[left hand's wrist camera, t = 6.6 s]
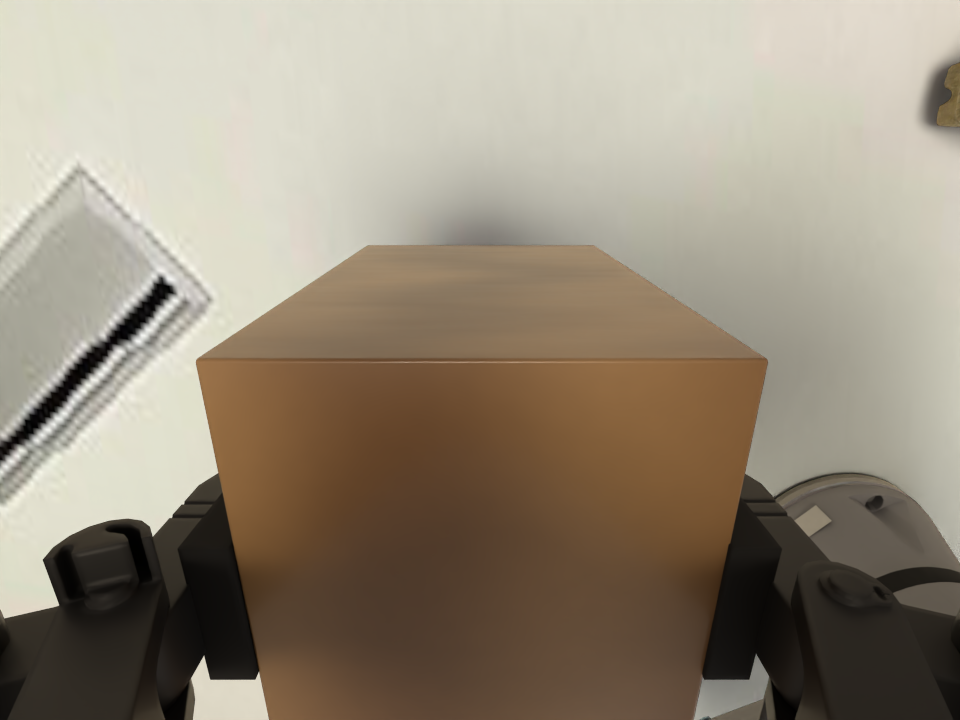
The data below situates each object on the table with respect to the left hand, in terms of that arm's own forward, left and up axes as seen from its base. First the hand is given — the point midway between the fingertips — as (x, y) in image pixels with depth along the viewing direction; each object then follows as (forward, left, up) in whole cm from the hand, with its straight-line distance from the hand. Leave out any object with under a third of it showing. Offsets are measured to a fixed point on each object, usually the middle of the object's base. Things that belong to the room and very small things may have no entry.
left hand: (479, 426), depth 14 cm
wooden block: (0, 0, -5) cm, 5 cm away
